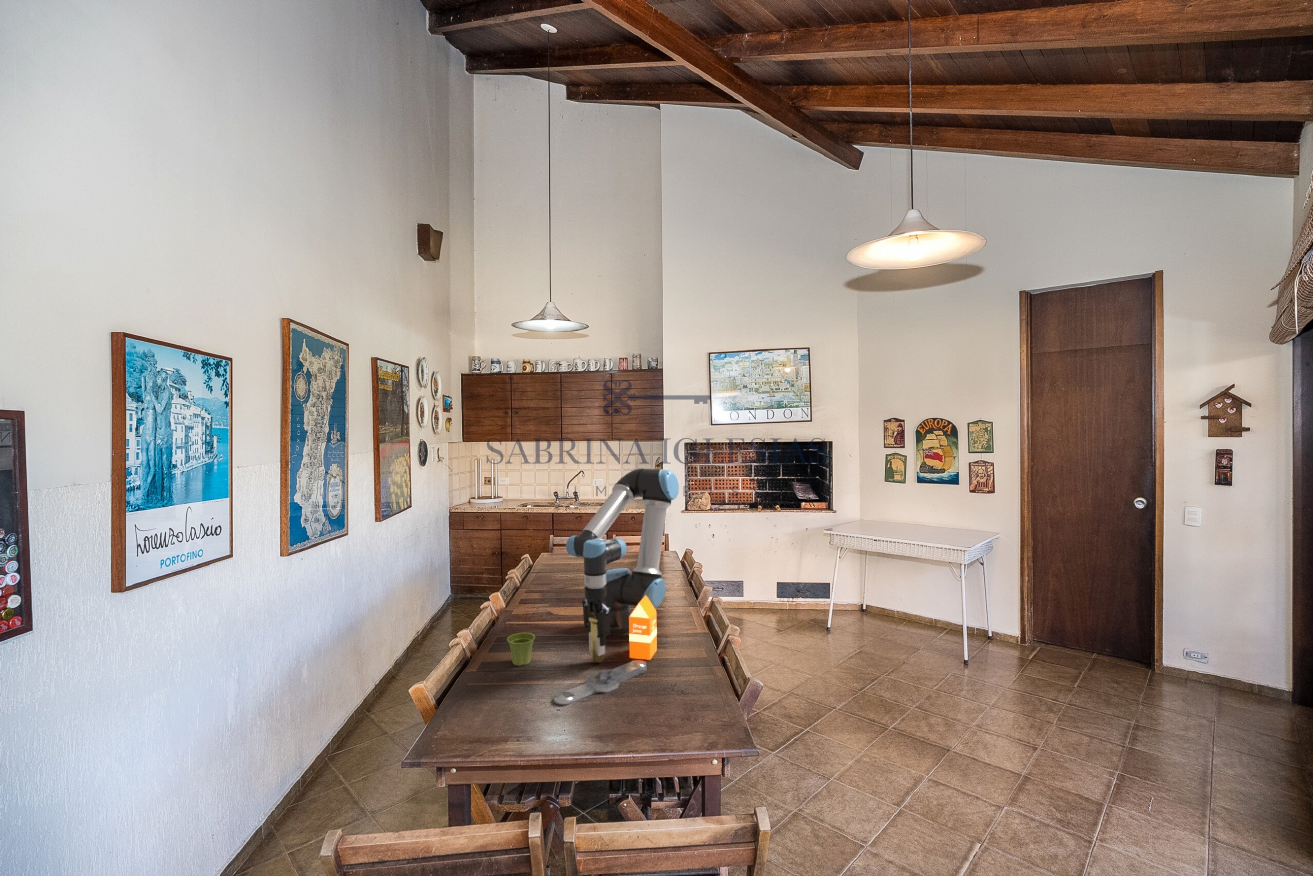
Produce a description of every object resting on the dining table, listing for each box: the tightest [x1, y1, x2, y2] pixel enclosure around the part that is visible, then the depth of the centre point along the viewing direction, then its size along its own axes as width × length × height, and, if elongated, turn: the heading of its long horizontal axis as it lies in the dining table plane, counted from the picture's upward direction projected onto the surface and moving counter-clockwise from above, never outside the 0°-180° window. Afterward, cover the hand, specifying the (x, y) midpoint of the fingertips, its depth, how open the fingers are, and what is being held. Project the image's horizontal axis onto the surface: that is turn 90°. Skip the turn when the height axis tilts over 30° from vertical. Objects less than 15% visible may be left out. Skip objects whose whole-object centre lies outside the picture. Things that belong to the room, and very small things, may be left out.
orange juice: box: [628, 596, 658, 661], centre depth 209 cm, size 8×9×20 cm
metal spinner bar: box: [553, 659, 647, 706], centre depth 186 cm, size 35×10×2 cm, turn 133°
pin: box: [589, 616, 604, 663], centre depth 202 cm, size 5×5×15 cm
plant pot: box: [506, 632, 536, 667], centre depth 204 cm, size 9×9×9 cm
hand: (597, 652), depth 202 cm, fingers closed on pin, 4 cm apart
